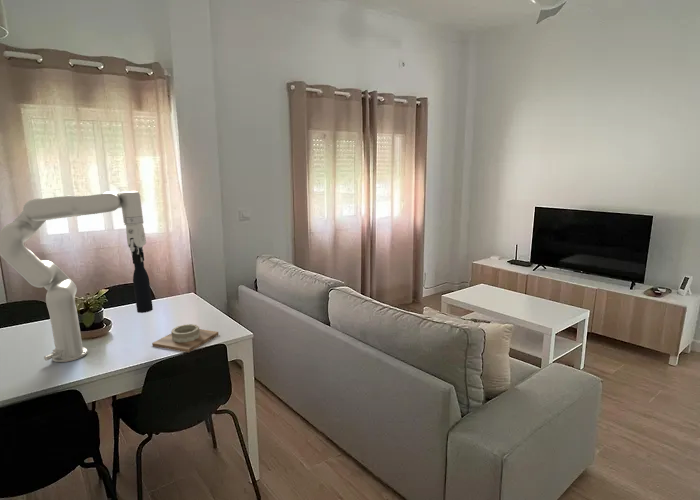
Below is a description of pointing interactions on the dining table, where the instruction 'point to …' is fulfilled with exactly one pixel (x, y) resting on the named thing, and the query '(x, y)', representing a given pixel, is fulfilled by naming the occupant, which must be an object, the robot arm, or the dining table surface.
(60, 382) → the dining table surface
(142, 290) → the wine bottle
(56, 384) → the dining table surface
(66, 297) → the robot arm
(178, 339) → the bottle stand
